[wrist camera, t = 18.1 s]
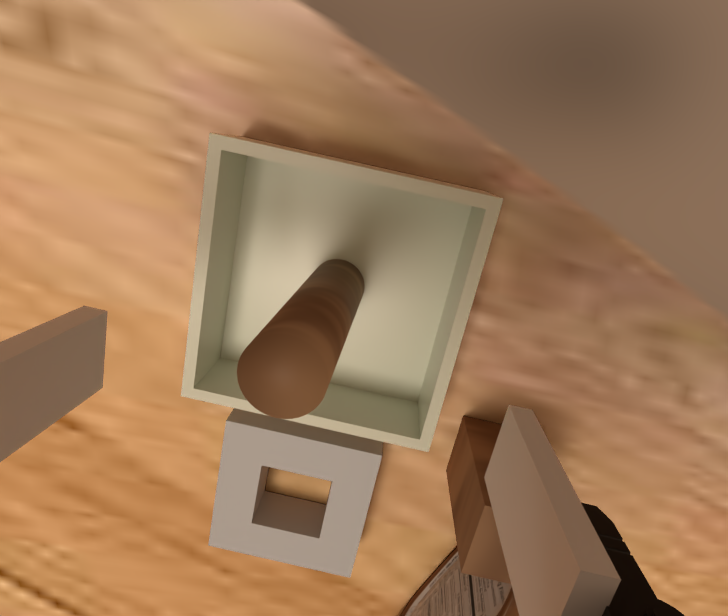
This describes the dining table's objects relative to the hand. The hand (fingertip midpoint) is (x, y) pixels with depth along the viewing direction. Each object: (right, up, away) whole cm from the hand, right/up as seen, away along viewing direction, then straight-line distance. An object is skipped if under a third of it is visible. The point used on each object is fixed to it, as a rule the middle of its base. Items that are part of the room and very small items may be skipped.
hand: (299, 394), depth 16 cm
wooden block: (+10, -6, +15) cm, 19 cm away
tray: (+1, +4, +12) cm, 13 cm away
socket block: (-2, -8, +16) cm, 18 cm away
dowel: (+1, +4, +12) cm, 12 cm away
